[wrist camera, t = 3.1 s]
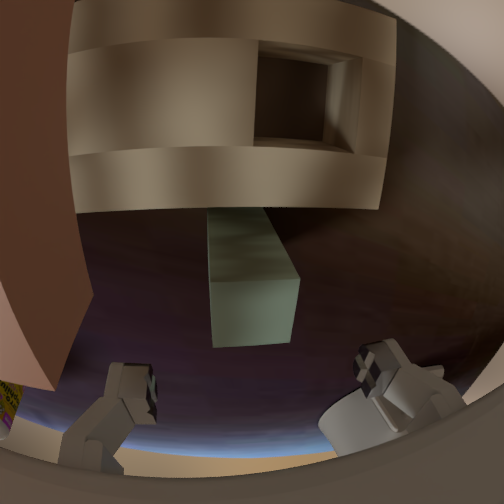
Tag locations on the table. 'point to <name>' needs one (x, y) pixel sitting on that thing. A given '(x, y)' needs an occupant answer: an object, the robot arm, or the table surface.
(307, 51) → the socket block
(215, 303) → the peg
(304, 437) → the table surface
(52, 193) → the small toy table
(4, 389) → the supplement bottle
